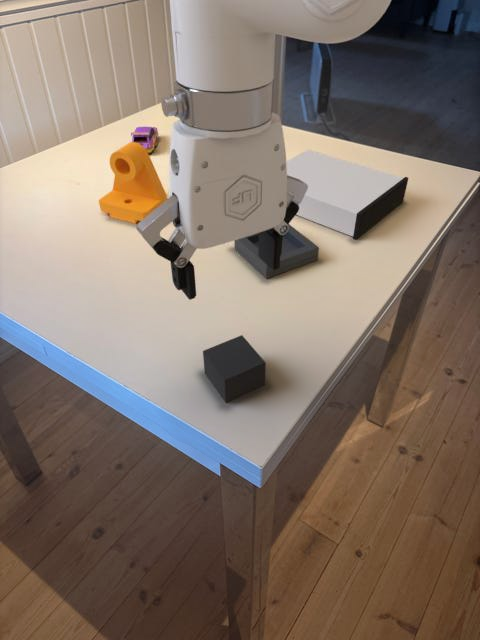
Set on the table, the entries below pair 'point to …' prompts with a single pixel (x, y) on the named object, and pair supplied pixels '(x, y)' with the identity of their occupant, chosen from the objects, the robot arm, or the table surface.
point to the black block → (234, 368)
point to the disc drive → (345, 192)
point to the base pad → (293, 253)
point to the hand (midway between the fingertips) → (229, 276)
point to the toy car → (146, 137)
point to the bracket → (133, 185)
